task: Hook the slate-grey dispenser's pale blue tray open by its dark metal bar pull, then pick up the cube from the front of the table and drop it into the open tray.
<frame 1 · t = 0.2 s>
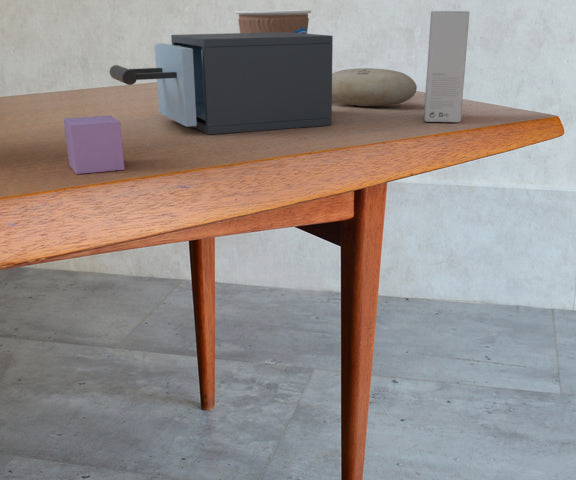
stone: (368, 107, 98), on the table
coffee cup: (274, 102, 104), on the table
cabinet: (251, 122, 86), on the table
cube: (96, 167, 63), on the table
drawer: (203, 81, 82), point 5 cm above the table, slide at 1.0 cm
cosmetic box: (441, 120, 87), on the table
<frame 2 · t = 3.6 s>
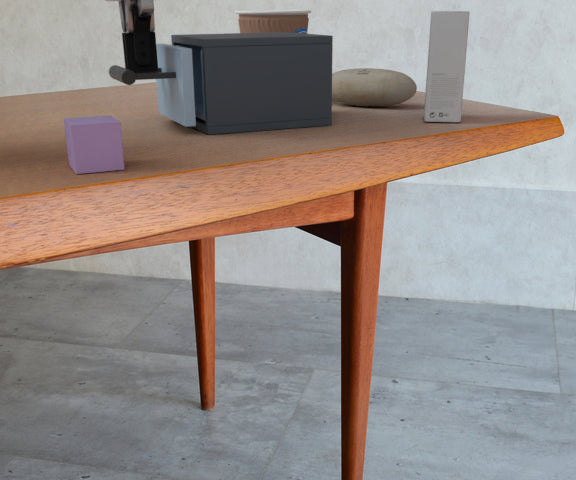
hand: (142, 71, 79), 6 cm above the table, tool pointing down, fingers closed
drawer: (202, 81, 82), point 5 cm above the table, slide at 1.1 cm, touching gripper
everything else where it was.
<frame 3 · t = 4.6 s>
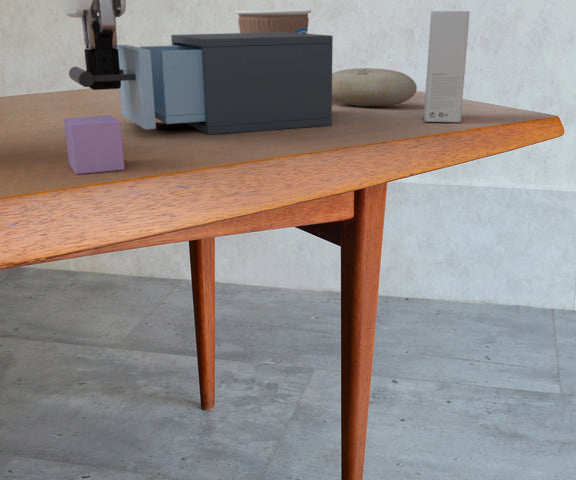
hand: (104, 88, 78), 5 cm above the table, tool pointing down, fingers closed
drawer: (164, 83, 80), point 5 cm above the table, slide at 5.4 cm, touching gripper
everything else where it was.
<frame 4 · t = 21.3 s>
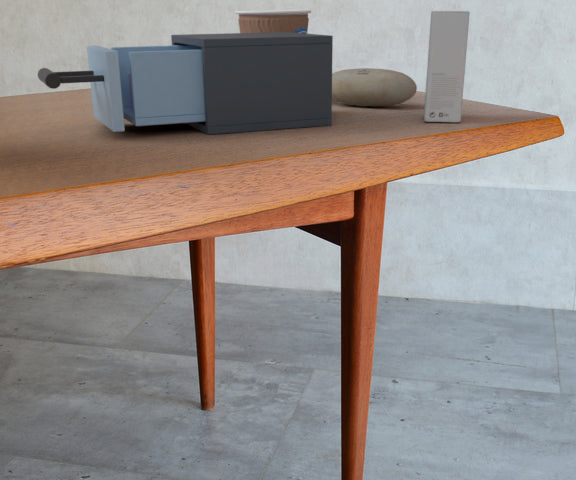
cube: (153, 110, 81), point 2 cm above the table, touching drawer
drawer: (135, 85, 79), point 5 cm above the table, slide at 8.6 cm, touching cube
everything else where it was.
at the end: drawer slide at 8.6 cm; cube inside the target area in the cabinet (6.5 cm from its centre), point 2.0 cm above the cabinet's base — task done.
